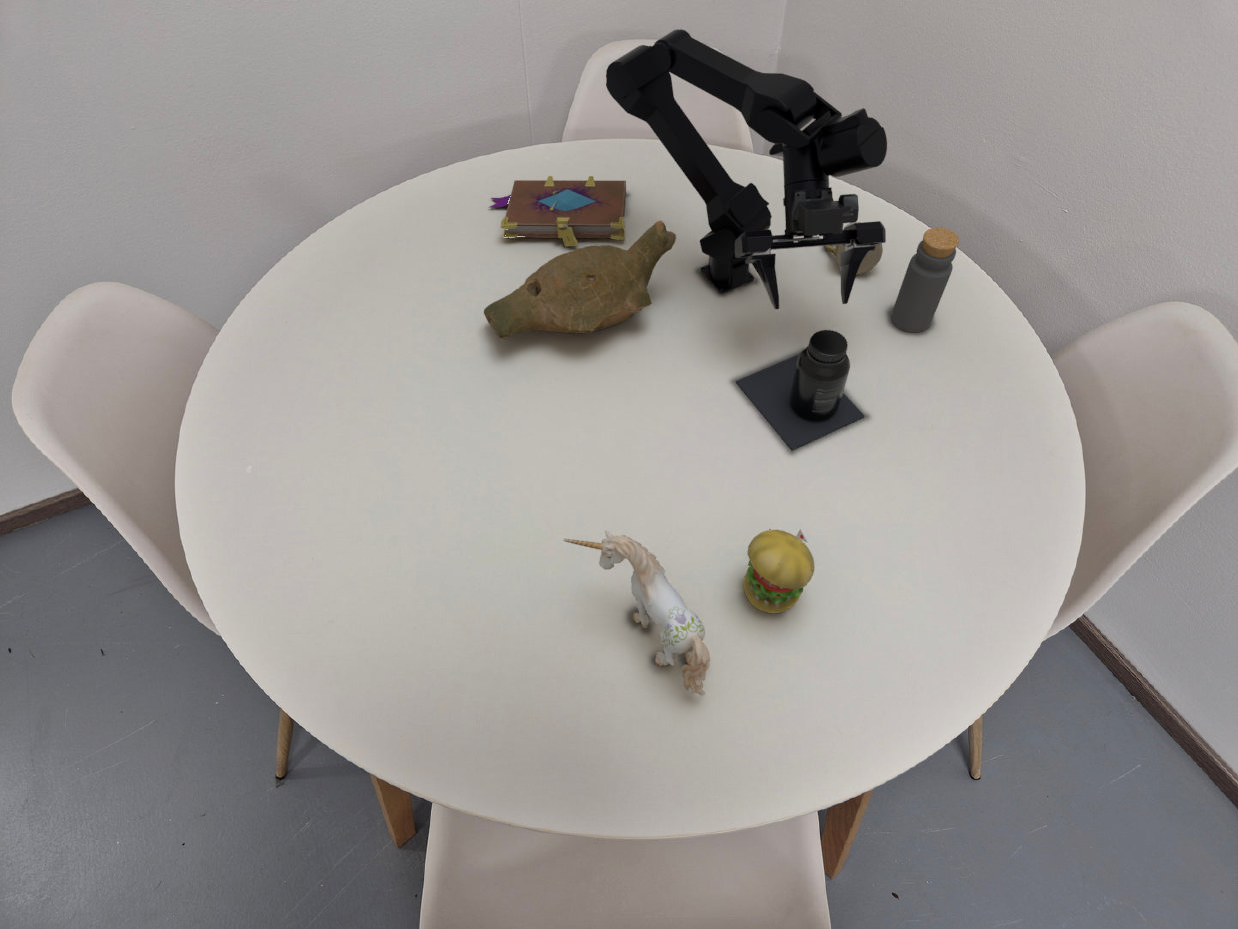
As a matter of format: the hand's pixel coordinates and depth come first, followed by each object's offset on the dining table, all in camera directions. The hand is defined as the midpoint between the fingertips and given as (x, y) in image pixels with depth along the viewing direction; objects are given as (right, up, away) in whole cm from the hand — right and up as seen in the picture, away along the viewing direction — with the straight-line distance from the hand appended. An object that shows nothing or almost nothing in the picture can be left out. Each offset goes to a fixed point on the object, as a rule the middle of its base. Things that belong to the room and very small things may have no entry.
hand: (810, 306), depth 102 cm
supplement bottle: (+1, -13, +4) cm, 14 cm away
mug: (+12, +13, +23) cm, 29 cm away
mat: (0, -12, +5) cm, 13 cm away
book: (-37, +21, +31) cm, 53 cm away
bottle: (+19, +1, +14) cm, 23 cm away
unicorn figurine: (-24, -41, -15) cm, 50 cm away
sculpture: (-31, +2, +17) cm, 35 cm away
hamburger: (-8, -36, -12) cm, 39 cm away
